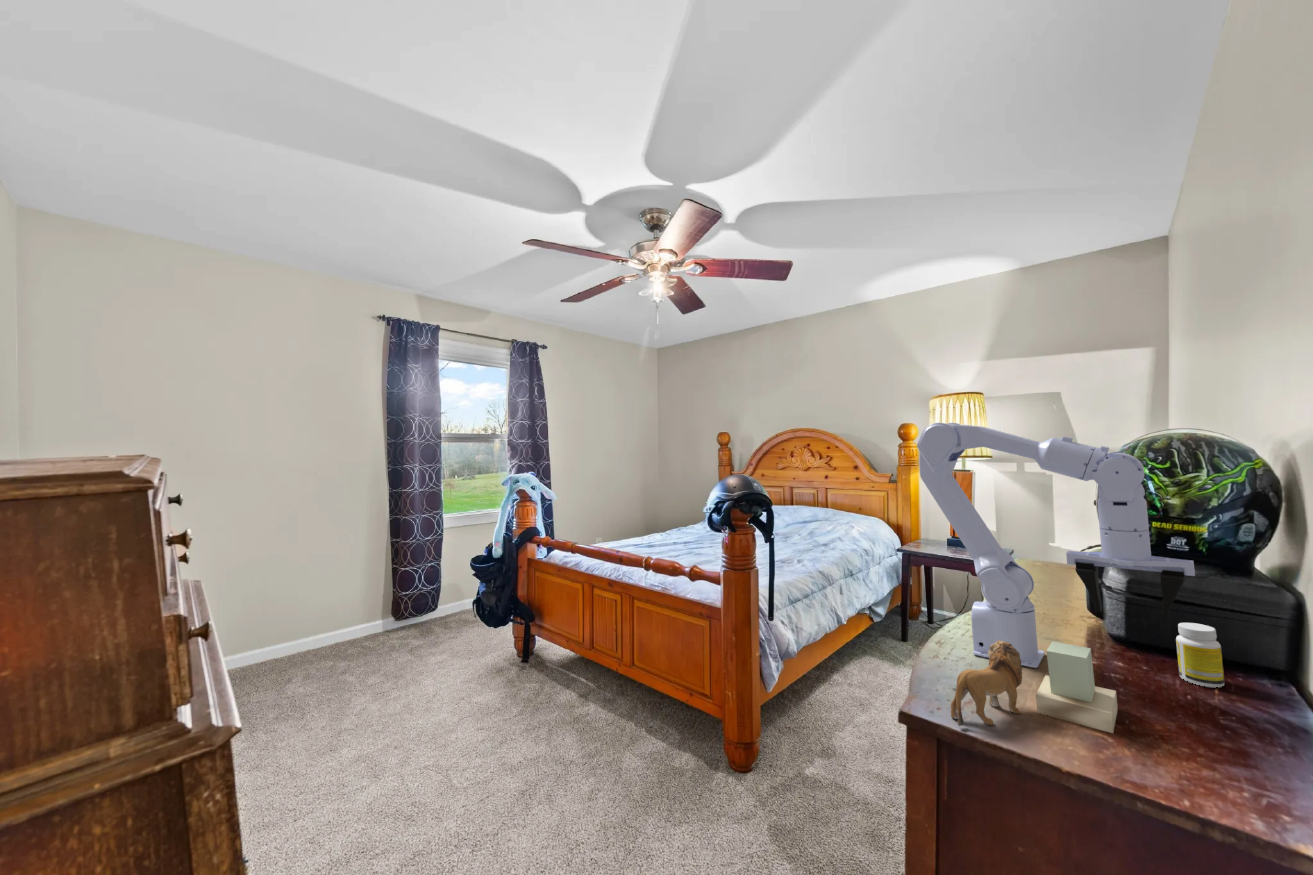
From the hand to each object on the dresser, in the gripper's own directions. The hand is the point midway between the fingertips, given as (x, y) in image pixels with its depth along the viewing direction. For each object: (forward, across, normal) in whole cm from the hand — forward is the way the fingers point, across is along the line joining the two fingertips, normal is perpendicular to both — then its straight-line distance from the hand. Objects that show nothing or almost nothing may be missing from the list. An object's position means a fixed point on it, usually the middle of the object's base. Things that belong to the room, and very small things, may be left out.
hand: (1131, 615), depth 78 cm
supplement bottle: (+11, +7, +6) cm, 14 cm away
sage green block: (+8, -6, -16) cm, 19 cm away
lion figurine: (+11, -15, -24) cm, 30 cm away
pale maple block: (+11, -6, -16) cm, 20 cm away
